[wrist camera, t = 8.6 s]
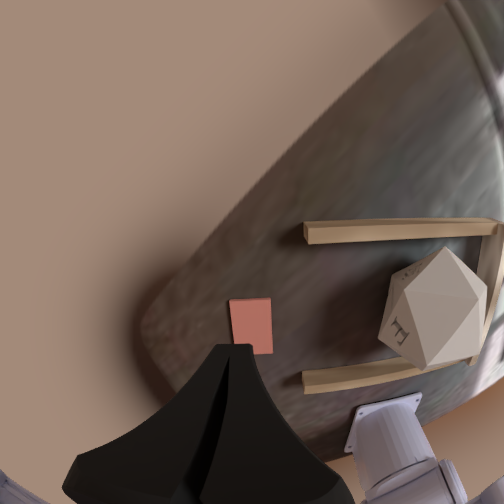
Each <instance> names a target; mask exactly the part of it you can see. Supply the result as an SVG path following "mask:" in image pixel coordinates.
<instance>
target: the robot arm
mask: <svg viewBox="0 0 504 504" xmlns="http://www.w3.org/2000/svg"><path fill="white" fill-rule="evenodd" d="M421 397H422V393H421V392H418V393H415V394H411V395H407V396H404V397H400V398H395V399H391V400H387V401H383V402H378V403H373V404H368V405H363V406H360V407H358V408H357V410H356V413H355V417H354V420H353V423H352V427H351V430H350V433H349V436H348V439H347V442H346V445H345V448H344V451H345V452H346V453H347V452H352V453H353V456H354V460H355V464H356V468H357V472H358V477H359V481H360V485H361V487H362V489H363V490H364V491H365V496H366V499H365V500H363V501H362V502H361V503H360V504H504V475H503V476H502V477H501V478H499V479H498V480H496V481H495V482H494V483H492V484H491V485H490V486H489V487H488V488H486V489H485V490H484V491H483V492H482V493H481V494H480V495H479V496H477V497H475V498H474V499H472V500H470V501H467V499H468V497H467V495H466V492H465V490H464V487H463V485H462V483H461V481H460V478H459V476H458V474H457V472H456V470H455V468H454V465H453V463H452V461H451V460H446V459H443V460H441V461H440V463H439V462H438V461H437V459H436V458H435V455H434V453H433V451H432V449H431V447H430V445H429V442H428V440H427V438H426V436H425V434H424V432H423V430H422V428H421V426H420V424H419V422H418V420H417V418H416V416H415V414H414V413H415V411H416V409H417V406H418V404H419V402H420V400H421ZM62 489H63V491H64V493H65V494H66V495H67V496H68V497H70V498H71V499H72V500H73V501H75V502H76V503H77V504H355V502H354V499H353V497H352V494H351V493H350V491H349V489H348V487H347V486H346V484H345V482H344V481H343V479H342V477H341V476H340V475H339V474H337V473H336V472H335V471H333V470H332V469H331V468H330V467H328V466H327V465H326V464H325V463H324V462H323V461H322V460H320V459H319V458H318V457H317V456H316V455H315V454H314V453H313V452H312V451H311V450H310V449H309V448H308V447H307V446H306V445H305V444H304V442H303V441H302V440H301V439H300V438H299V437H298V436H297V434H296V433H295V432H294V431H293V430H292V429H291V427H290V426H289V425H288V423H287V422H286V421H285V419H284V418H283V416H282V415H281V413H280V412H279V410H278V409H277V407H276V406H275V404H274V402H273V401H272V399H271V397H270V395H269V393H268V392H267V390H266V388H265V386H264V384H263V381H262V379H261V376H260V374H259V372H258V369H257V366H256V363H255V359H254V351H253V345H251V344H250V343H246V344H216V345H215V346H214V348H213V349H212V350H211V352H210V353H209V355H208V356H207V358H206V359H205V360H204V362H203V363H202V364H201V366H200V367H199V368H198V370H197V371H196V372H195V373H194V375H193V376H192V377H191V378H190V380H189V381H188V382H187V383H186V384H185V385H184V386H183V387H182V388H181V390H180V391H179V392H178V393H177V394H176V395H175V396H174V397H173V398H172V399H171V400H170V401H169V402H168V403H167V404H166V405H164V406H163V407H162V408H161V409H160V410H159V411H157V412H156V413H155V414H154V415H152V416H151V417H150V418H149V419H147V420H146V421H144V422H143V423H142V424H140V425H139V426H137V427H136V428H135V429H133V430H131V431H130V432H128V433H126V434H124V435H123V436H121V437H119V438H117V439H115V440H113V441H111V442H109V443H107V444H105V445H103V446H100V447H98V448H95V449H93V450H90V451H88V452H85V453H83V454H80V455H77V457H76V459H75V461H74V462H73V464H72V466H71V468H70V470H69V472H68V474H67V477H66V479H65V481H64V483H63V485H62ZM0 504H50V503H48V502H46V501H44V500H42V499H41V498H39V497H37V496H36V495H34V494H33V493H31V492H29V491H28V490H26V489H25V488H23V487H22V486H20V485H19V484H17V483H16V482H14V481H13V480H11V479H10V478H8V477H7V476H6V475H5V474H4V472H2V470H0Z"/></svg>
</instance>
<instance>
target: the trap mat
mask: <svg viewBox="0 0 504 504" xmlns="http://www.w3.org/2000/svg"><path fill="white" fill-rule="evenodd" d="M229 303H230V312H231V320H232V328H233V336H234V344H246V343H250V344H251V345H253V351H254V354H270V353H273V346H272V322H271V300H270V298H254V299H232V300H229Z"/></svg>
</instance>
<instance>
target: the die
mask: <svg viewBox="0 0 504 504" xmlns="http://www.w3.org/2000/svg"><path fill="white" fill-rule="evenodd" d="M486 298H487V286H486V284H485V283H484V282H483V281H482V280H481V279H480V278H479V277H478V276H477V275H476V274H475V273H474V272H472V271H471V270H470V269H469V268H468V267H467V266H466V265H465V264H464V263H463V262H462V261H461V260H460V259H459V258H458V257H457V256H455V255H454V254H453V253H452V252H451V251H450V250H449V249H448V248H447V247H443V248H441V249H439V250H438V251H436V252H434V253H432V254H430V255H429V256H427V257H425V258H423V259H421V260H419V261H417V262H416V263H414V264H412V265H410V266H408V267H406V268H404V269H402V270H400V271H398V272H396V273H394V274H392V276H391V282H390V287H389V292H388V298H387V301H386V306H385V310H384V315H383V319H382V323H381V327H380V331H379V335H378V339H379V340H381V341H382V342H383V343H385V344H386V345H387V346H389V347H390V348H391V349H393V350H394V351H395V352H397V353H398V354H399V355H401V356H402V357H404V358H405V359H406V360H408V361H409V362H410V363H412V364H413V365H414V366H416V367H417V368H418V369H420V370H421V371H425V370H429V369H433V368H436V367H440V366H443V365H447V364H450V363H453V362H457V361H460V360H463V359H466V358H469V357H472V356H475V355H478V354H479V352H480V346H481V341H482V334H483V327H484V319H485V310H486Z"/></svg>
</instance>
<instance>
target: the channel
mask: <svg viewBox="0 0 504 504" xmlns="http://www.w3.org/2000/svg"><path fill="white" fill-rule="evenodd" d="M303 227H304V237H305V239H306V241H307V243H308V244H322V243H340V242H358V241H377V240H396V239H415V238H435V237H455V236H476V235H482V242H481V249H480V255H479V261H478V267H477V272H476V275H477V276H478V277H479V278H480V279H481V280H482V281H483V282H484V283H485V284H486V286H487V298H486V310H485V319H484V327H483V334H482V341H481V346H480V351H481V348H482V346H483V343H484V341H485V338H486V335H487V332H488V329H489V326H490V323H491V320H492V317H493V314H494V311H495V307H496V304H497V300H498V296H499V293H500V289H501V284H502V280H503V276H504V223H503V222H501V221H498V220H495V219H492V218H394V219H359V220H332V221H310V222H303ZM479 353H480V352H479ZM478 356H479V354H478V355H475V356H472V357H469V358H466V359H463V360H460V361H457V362H453V363H450V364H447V365H443V366H440V367H436V368H433V369H429V370H425V371H421V370H420V369H418V368H417V367H416V366H414V365H413V364H412V363H410V362H409V361H408V360H406V359H405V358H404V357H402V356H401V357H396V358H391V359H386V360H381V361H375V362H369V363H363V364H356V365H350V366H342V367H335V368H326V369H317V370H307V371H302V384H303V390H304V394H312V393H321V392H330V391H337V390H344V389H351V388H357V387H363V386H368V385H374V384H379V383H384V382H388V381H393V380H398V379H402V378H406V377H410V376H414V375H418V374H422V373H426V372H429V371H433V370H436V369H440V368H443V367H446V366H449V365H452V364H456V363H459V362H462V361H465V362H466V363H467V365H468V366H471V365H473V364H475V363H476V361H477V358H478Z"/></svg>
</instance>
